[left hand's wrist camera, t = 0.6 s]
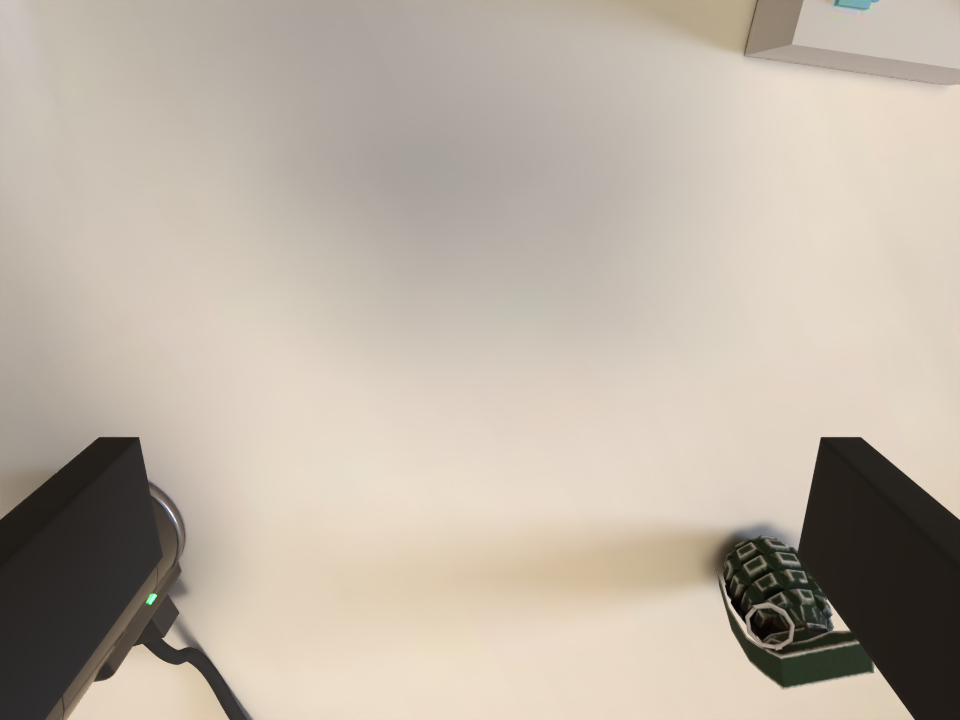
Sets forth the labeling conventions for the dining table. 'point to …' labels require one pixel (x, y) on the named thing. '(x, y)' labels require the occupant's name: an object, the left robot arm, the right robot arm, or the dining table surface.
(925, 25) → the decorative block
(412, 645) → the dining table surface
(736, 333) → the dining table surface
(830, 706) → the dining table surface
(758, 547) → the grenade
